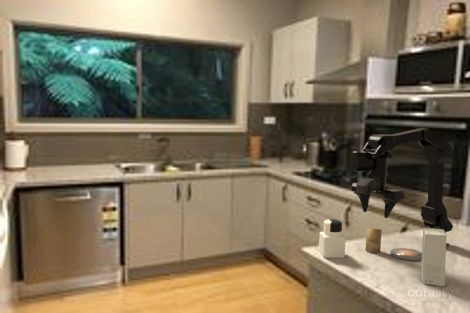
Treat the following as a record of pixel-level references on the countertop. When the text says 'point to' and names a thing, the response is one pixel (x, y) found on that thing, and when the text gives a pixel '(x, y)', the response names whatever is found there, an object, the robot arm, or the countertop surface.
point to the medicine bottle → (332, 240)
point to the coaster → (406, 254)
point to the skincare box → (433, 256)
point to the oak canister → (373, 240)
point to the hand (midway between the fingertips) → (375, 214)
